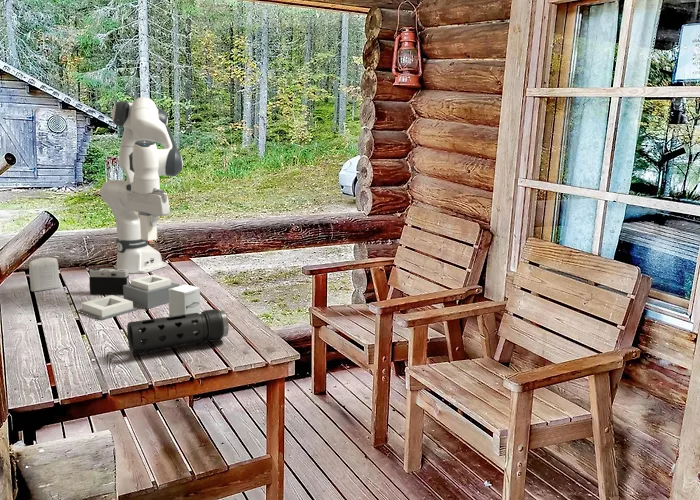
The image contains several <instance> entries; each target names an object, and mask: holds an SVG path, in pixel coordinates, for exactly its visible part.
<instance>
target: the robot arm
mask: <svg viewBox="0 0 700 500" xmlns="http://www.w3.org/2000/svg"><path fill="white" fill-rule="evenodd" d="M111 118H112V123H114V125H115V126H117V127H120V128H124V129H123V133H122V136H121V141H120V148H119V156H118V166H119V168H120V169H121V170H123V171H124V174H125V175H126V180H122V179H113V180H107V181H105V182H103V183H102V185H101V187H100V196H101V197H100V198H101V199H102V200H103V202H105V203H106V204H107V206H109V207H108V208H110V210H111V212H112V214H113V216H114V220H115V225H116V250H117V256H116V264H115V268H114V269H116V268H118V269H128V270H129V274H138V273H139V274H147V273H150V272H153V271H156V270H160V269H162V268H164V267H165V268H166V267H168V263H167V262H165V261H163V258H162V255H161V253H160V252H159V251H158V250H156V249H155V247H152V246H150V245H149V243H153V240H150V241H146V240H142V239H141V229H140V212H144V213H148V214H151V217H152V221H150V226H152V227H155V226H157V225H158V223H157V222H158V221H159V217H167V216H169V215H170V213H171V210H170V209H171V208H170V201H169V197H168V194H167V193H166V191H165V190H164V189H163V188H162V189H161V185H160V182H161V181H160V176H167V177H176V176H177V175H180V173H182V171H183V167H184V162H183V156H182V154H181V152H180V150H179V149H178V145H177V144H176V141H175V138H174V136H173V133H172V131H171V129H170V127H169V126H168V123H169V117H168V114H167V112H166V110H165V109H162V108H160V107H157V105H156V103H155V102H154V100H152V99H151V98H149V97H145V96H142V97H138V98H136V99H134V101H133V102H127V101H122V100H121V101H117V102H116V103H115V104H114V106H113V107H112V110H111ZM156 143H158V144H160V145H162V146H163V148H158V146H157V144H156ZM157 227H158V226H157Z"/></svg>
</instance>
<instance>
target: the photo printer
mask: <svg viewBox="0 0 700 500" xmlns="http://www.w3.org/2000/svg"><path fill="white" fill-rule="evenodd" d="M28 266H29V267H28V268H29V270H28V271H29V282H30V291H31V292H39V291H46V290H53V289H60V273H59V262H58V259H57V258H54V257H39V258H36V259H33V260H31V261H29V263H28Z"/></svg>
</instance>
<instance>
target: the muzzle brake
mask: <svg viewBox="0 0 700 500" xmlns="http://www.w3.org/2000/svg"><path fill="white" fill-rule="evenodd" d="M229 328H230V327H229V320H228V315H227V312H226V311H225V310H223V309H222V310H219V309H217V308H213V309H212V308H211V309H206V310H203V311H201V312H200V314H199V313H191V314H184V315H177V316H170V317H169V316H163V317H156V318H150V319H143V320H135V321H128V323H127V328H126V333H127V334H126V335H127V341H128V342H127V343H128V348H129V350H130V353H131V354H132V355H133V356H139V355H143V354H144V355H145V354H149V353H155V352H156V353H157V352H163V351H166V350H168V349H176V347H180V346H187V345H192V344H193V345H194V347H195V346H200V345H201V346H202V345H206V343H207V342H213V341H214V342H215V341H220V340H221V339H223V338H225V337H227V336H228V334H229Z"/></svg>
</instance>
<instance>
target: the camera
mask: <svg viewBox="0 0 700 500" xmlns="http://www.w3.org/2000/svg"><path fill="white" fill-rule="evenodd" d="M115 268H116V267H115ZM115 268H100V267H96V268H95V267H94V268H92V269H89V277H88V281H89V282H88V285H89V286H88V287H89V295H93V296H94V295H95V296H97V295H98V296H110V295H114V296H124V293H123V285H127V284H130V275H129V274H130V273H129V270H128V269H118V268H116V269H115Z"/></svg>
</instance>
